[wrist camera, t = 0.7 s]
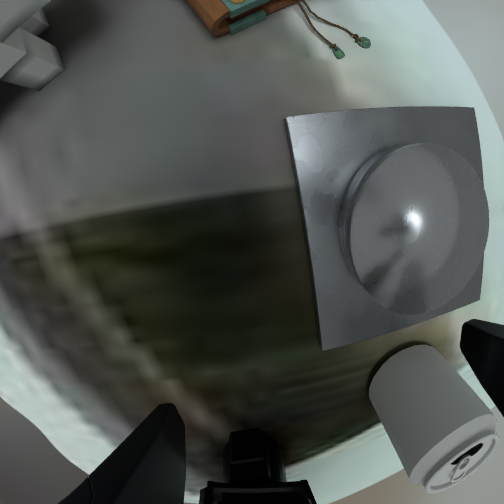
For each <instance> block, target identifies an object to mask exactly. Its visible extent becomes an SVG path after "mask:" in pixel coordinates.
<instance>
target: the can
mask: <svg viewBox="0 0 504 504" xmlns="http://www.w3.org/2000/svg"><path fill="white" fill-rule="evenodd" d="M369 398H370V400H371V403H372V405H373V407H374V409H375V410H376V412H377V414H378V416H379V418H380V420H381V422H382V424H383V426H384V428H385V430H386V432H387V434H388V436H389V438H390V440H391V442H392V444H393V446H394V448H395V450H396V452H397V454H398V456H399V458H400V460H401V462H402V464H403V467H404V469H405V471H406V473H407V475H408V477H409V479H410V481H411V483H414V484H417V485H421V486H425V487H424V488H425V491H426V492H427V493H437V492H441V491H444V490H446V489H449V488H451V487H452V486H454V485H456V484H458V483H460V482H461V481H462V480H464V479H466V478H467V477H469V476H470V475H471V474H472V473H474V472H475V471H476V470H477V469H478V468H480V466H482V465H483V464H484V463H485V462H486V461H487V460H488V458H489V457H490V456H491V455H492V453H493V452H494V451H495V449H496V447H497V445H498V443H499V439H500V437H499V435H498V434H497V433H495V427H496V421H497V419H496V417H495V416H494V414H493V413H492V412H491V411H490V409H489V408H488V407H487V406H486V405H485V403H484V402H483V401H482V400H481V399H480V398H479V397H478V395H477V394H476V393H475V392H474V391H473V390H472V388H471V387H470V386H469V385H468V384H467V383H466V382H465V381H464V379H463V378H462V377H461V376H460V375H459V374H458V373H457V372H456V371H455V369H454V368H453V367H452V366H451V365H450V364H449V363H448V362H447V361H446V360H445V359H444V357H443V356H442V355H441V354H440V353H439V352H438V351H437V350H436V349H435V348H434V347H431V346H429V345H415V346H412V347H409V348H406V349H404V350H401V351H399V352H398V353H396V354H394V355H393V356H391V357H390V358H389V359H388V360H387V361H386V362H385V363H383V365H382V366H381V368H380V369H379V370H378V372H377V373H376V375H375V376H374V377H373V380H372V382H371V385H370V387H369Z"/></svg>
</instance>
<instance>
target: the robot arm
mask: <svg viewBox="0 0 504 504" xmlns="http://www.w3.org/2000/svg"><path fill="white" fill-rule="evenodd" d="M460 349H461V351H462V353H463V355H464V357H465V358H466V360H467V362H468V363H469V365H470V367H471V368H472V370H473V372H474V373H475V375H476V377H477V379H478V380H479V382H480V384H481V385H482V387H483V388H484V390H485V391H486V392H487V394H488V395H489V397H490V398H491V399H492V401H493V402H494V404H495V405H496V407H497V408H498V409H499V411H500V412H501V414H502V415H503V417H504V325H501V324H496V323H491V322H487V321H482V320H477V319H472V320H469V321H467V322H465V323H464V324H463V326H462V332H461V340H460ZM185 480H186V450H185V426H184V422H183V420H182V418H181V416H180V415H179V413H178V411H177V409H176V407H175V405H174V404H172V403H166V404H160V405H158V406H157V407H156V408H155V409H154V410H153V411H152V412H151V413H150V414H149V415H148V417H147V418H146V419H145V420H144V421H143V422H142V423H141V424H140V425H139V426H138V427H137V428H136V429H135V430H134V431H133V432H132V433H131V434H130V435H129V436H128V437H127V438H126V439H125V440H124V441H123V442H122V443H121V444H120V445H119V446H118V447H117V448H116V449H115V450H114V451H113V452H112V453H111V454H110V455H109V456H108V457H107V458H106V459H105V460H104V461H103V462H102V463H101V464H100V465H99V466H98V467H97V468H96V469H95V470H94V471H93V472H92V473H91V474H90V475H89V478H88V477H87V478H86V479H85V480H84V481H83V482H82V483H81V484H80V485H79V486H77V487H76V488H75V489H74V490H73V491H72V492H71V493H70V494H69V495H68V496H66V497H65V498H64V499H62V500H61V501H60V502H59V503H58V504H184V491H185ZM199 504H317V503H316V501H315V498H314V496H313V494H312V491H311V489H310V486H309V484H308V481H307V480H300V481H294V482H287V480H286V474H285V468H284V462H283V455H282V449H281V446H280V444H279V443H278V442H277V441H276V440H274V439H272V438H270V437H267V436H266V435H265V433H264V432H261V430H260V429H258V428H256V429H249V430H243V431H235V432H231V433H230V437H229V443H228V444H227V445H226V446H225V448H224V464H223V483H221V482H214V481H208V482H207V487H206V488H204V489H201V490H200V500H199Z"/></svg>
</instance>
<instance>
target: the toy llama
mask: <svg viewBox="0 0 504 504" xmlns="http://www.w3.org/2000/svg"><path fill="white" fill-rule="evenodd" d="M50 1H51V0H0V81H4V82H8V83H12V84H16V85H20V86H24V87H28V88H31V89H35V90H38V91H40V90H41V89H42V88H44V87H45V86H46V85H47V84H48V83H50V82H51V81H52V80H53V79H54V78H56V77H57V76H58V75H59V74H61V73H62V72H63V71H64V70H65V69H64V66H63V64H62V61H61V58H60V56H59V53H58V50H57V48H56V47H55V46H54V45H52V44H50V43H48V42H46V41H44V40H42V39H41V38H39V37H37V36H38V35H39V34H41V33H42V32H43V31H44V30H46V29H47V28H48V27H49V25H48V22H47V19H46V16H45V13H44V9H43V8H42V7H43V6H45V5H46V4H47V3H48V2H50Z"/></svg>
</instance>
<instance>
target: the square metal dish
mask: <svg viewBox="0 0 504 504" xmlns="http://www.w3.org/2000/svg"><path fill="white" fill-rule="evenodd" d="M284 123H285V127H286V132H287V137H288V142H289V147H290V152H291V158H292V163H293V168H294V174H295V179H296V185H297V190H298V196H299V202H300V208H301V214H302V220H303V226H304V232H305V239H306V245H307V252H308V258H309V265H310V272H311V280H312V287H313V294H314V302H315V310H316V318H317V327H318V335H319V344H320V346H321V348H322V351H324V350H328V349H332V348H336V347H340V346H344V345H347V344H351V343H355V342H358V341H362V340H365V339H369V338H372V337H376V336H379V335H382V334H386V333H389V332H392V331H395V330H398V329H402V328H405V327H408V326H411V325H414V324H417V323H420V322H423V321H425V320H428V319H431V318H434V317H437V316H439V315H442V314H445V313H448V312H450V311H453V310H455V309H458V308H461V307H463V306H466V305H468V304H471V303H473V302H476V301H478V300H480V293H481V284H482V273H483V259H484V250H485V246H486V242H487V237H488V230H489V209H488V202H487V197H486V194H485V190H484V183H483V170H482V159H481V150H480V142H479V134H478V128H477V122H476V116H475V110H474V108H470V107H388V108H370V109H356V110H345V111H334V112H325V113H316V114H308V115H301V116H293V117H286V118H285V119H284Z"/></svg>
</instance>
